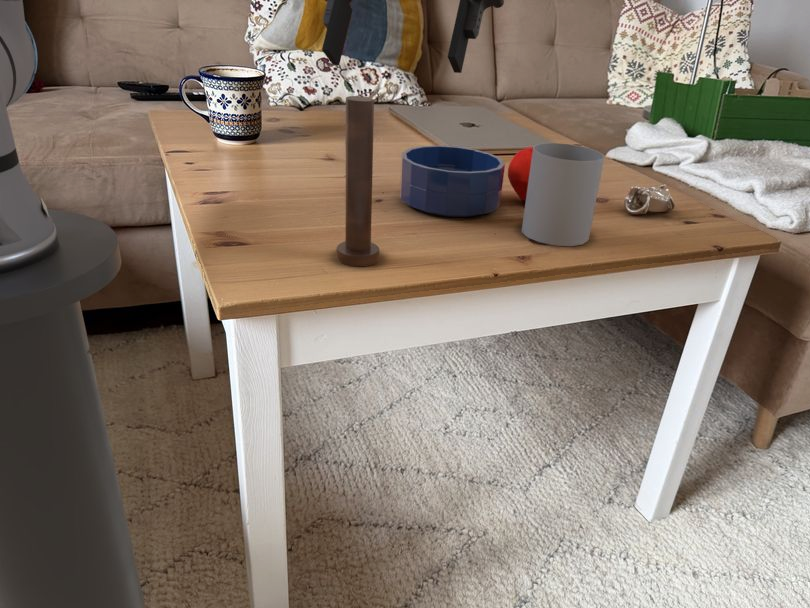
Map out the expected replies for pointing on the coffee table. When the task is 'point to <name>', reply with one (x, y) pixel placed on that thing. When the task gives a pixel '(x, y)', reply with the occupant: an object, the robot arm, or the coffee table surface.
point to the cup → (561, 193)
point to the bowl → (451, 180)
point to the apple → (520, 172)
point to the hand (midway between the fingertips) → (390, 61)
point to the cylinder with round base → (358, 184)
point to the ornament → (648, 199)
